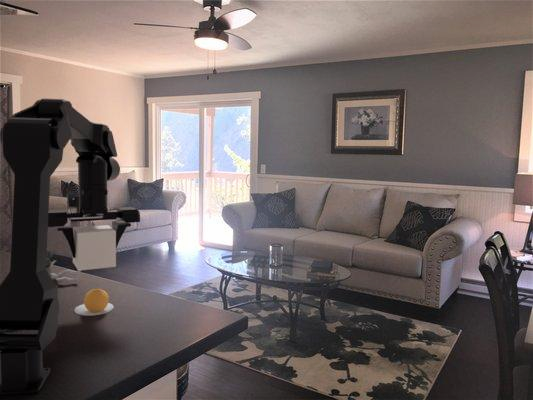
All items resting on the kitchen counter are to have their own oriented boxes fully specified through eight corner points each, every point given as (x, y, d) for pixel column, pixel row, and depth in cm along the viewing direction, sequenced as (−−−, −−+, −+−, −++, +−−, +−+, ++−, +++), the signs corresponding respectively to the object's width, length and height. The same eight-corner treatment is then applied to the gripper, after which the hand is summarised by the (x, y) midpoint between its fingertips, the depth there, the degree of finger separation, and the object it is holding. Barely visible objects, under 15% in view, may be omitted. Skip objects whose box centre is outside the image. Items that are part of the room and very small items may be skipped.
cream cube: (115, 266, 93) (115, 230, 92) (78, 270, 89) (77, 233, 88) (108, 258, 99) (108, 225, 99) (72, 262, 96) (72, 227, 95)
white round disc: (110, 314, 93) (110, 313, 93) (70, 316, 91) (70, 315, 91) (115, 302, 100) (115, 301, 100) (78, 303, 99) (78, 302, 99)
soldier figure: (77, 288, 110) (25, 279, 105) (73, 298, 112) (21, 290, 107) (82, 263, 115) (33, 254, 110) (78, 274, 118) (29, 265, 113)
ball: (100, 297, 98) (103, 317, 95) (78, 296, 95) (81, 316, 92) (110, 284, 96) (114, 304, 93) (88, 283, 92) (91, 303, 90)
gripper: (127, 181, 104) (128, 245, 106) (40, 181, 95) (42, 252, 96) (140, 184, 95) (140, 254, 97) (45, 185, 85) (47, 263, 87)
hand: (93, 255), depth 94 cm, fingers closed on cream cube, 7 cm apart
